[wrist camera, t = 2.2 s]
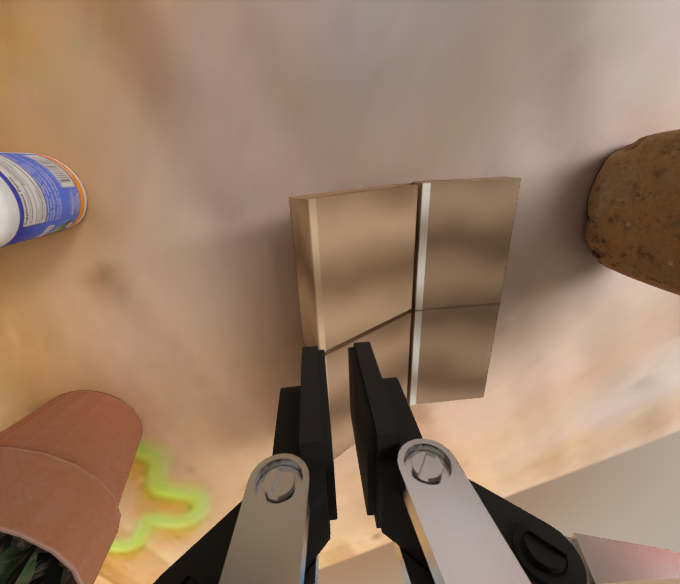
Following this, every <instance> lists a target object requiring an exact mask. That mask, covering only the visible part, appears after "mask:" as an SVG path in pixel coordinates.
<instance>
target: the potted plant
mask: <svg viewBox="0 0 680 584" xmlns="http://www.w3.org/2000/svg"><path fill="white" fill-rule="evenodd" d="M141 434H142V427H141V423H140V419H139V418H138V417H137V415H136V414H135V412H134V411H133V410H132V409H131V408H130V407H129V406H127V405H126V404H125V403H124V402H122V401H121V400H119V399H117V398H114V397H112V396H110V395H108V394H104V393H99V392H95V391H73V392H69V393H66V394H62V395H60V396H58V397H56V398H55V399H53V400H52V401H50V402H48V403H47V404H45V405H44V406H42V407H41V408H39V409H37V410H36V411H34V412H33V413H31V414H29V415H28V416H26V417H25V418H23V419H21V420H20V421H18V422H17V423H15V424H14V425H12V426H10V427H9V428H7V429H6V430H4V431H2V432H1V433H0V584H94V582H95V580H96V578H97V575H98V573H99V571H100V569H101V567H102V565H103V562H104V560H105V558H106V556H107V554H108V552H109V549H110V547H111V545H112V543H113V541H114V539H115V536H116V534H117V532H118V528H119V522H120V517H121V514H120V511H119V508H118V505H119V502H120V499H121V496H122V493H123V490H124V487H125V484H126V481H127V478H128V475H129V472H130V469H131V466H132V463H133V460H134V457H135V454H136V451H137V448H138V445H139V442H140V439H141Z"/></svg>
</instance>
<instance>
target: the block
mask: <svg viewBox="0 0 680 584" xmlns="http://www.w3.org/2000/svg"><path fill="white" fill-rule="evenodd" d="M588 215H589V217H590V218H589V220H588V222H587V223H586V234H585V238H586V240H587V243H588V244H589V246H590V247H591V248H592V255H593V256H594V257H596V258H597V259H598V261H599V262H600V263H601V264H602V265H604V266H606V267H608V268H610V269H612V270H614V271H616V272H619V273H621V274H623V275H626V276H628V277H631V278H633V279H636V280H639V281H641V282H644V283H646V284H649V285H652V286H654V287H657V288H660V289H663V290H666V291H669V292H672V293H675V294H677V295H680V129H679V130H673V131H667V132H662V133H657V134H653V135H649V136H645V137H642V138H640V139H639V140H637V141H636V142H634V143H633V144H631V145H629V146H627V147H625V148H623V149H620V150H618V151H615V152H614V153H613V154H612V155H610V156H609V157H608V159H607V160H606V161H605V163H604V165H603V166H602V168H601V170H600V172H599V173H598V175H597V177H596V180H595V182H594V185H593V187H592V190H591V192H590V196H589V200H588Z"/></svg>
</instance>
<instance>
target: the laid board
mask: <svg viewBox="0 0 680 584" xmlns="http://www.w3.org/2000/svg"><path fill="white" fill-rule="evenodd" d="M520 182H521V178H511V177H497V178H477V179H457V180H436V181H416V182H414V185H418V193H417V212H416V231H415V250H414V269H413V288H412V306H411V309H410V310H408V312H410V313H411V325H410V344H409V363H408V382H407V401H408V403H409V405H416V404H422V403H432V402H442V401H452V400H462V399H472V398H482V397H484V391H485V385H486V379H487V373H488V368H489V362H490V356H491V350H492V344H493V339H494V333H495V327H496V321H497V315H498V310H499V305H500V298H501V292H502V286H503V281H504V275H505V269H506V263H507V257H508V252H509V246H510V240H511V234H512V228H513V222H514V217H515V211H516V205H517V199H518V193H519V188H520Z"/></svg>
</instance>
